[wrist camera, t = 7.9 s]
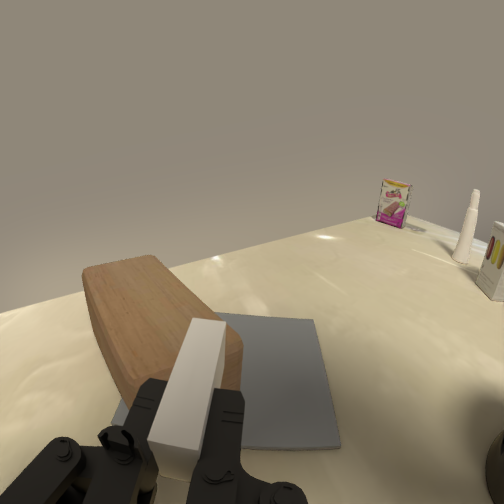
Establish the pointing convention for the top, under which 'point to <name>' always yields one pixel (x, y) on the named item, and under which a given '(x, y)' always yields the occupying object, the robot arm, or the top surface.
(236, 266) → the top surface
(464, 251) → the cosmetic bottle
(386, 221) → the candy bar box
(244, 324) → the mat
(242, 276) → the top surface
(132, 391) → the wooden block
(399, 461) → the top surface
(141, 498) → the robot arm
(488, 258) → the supplement box
